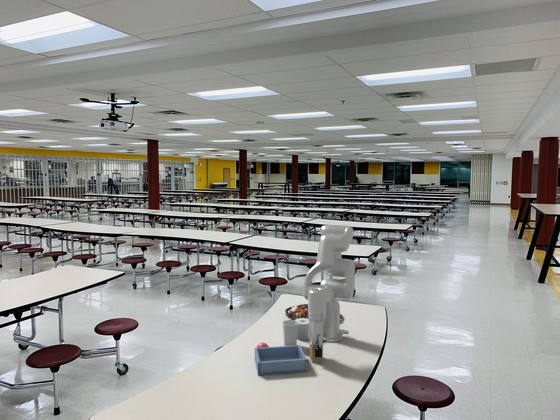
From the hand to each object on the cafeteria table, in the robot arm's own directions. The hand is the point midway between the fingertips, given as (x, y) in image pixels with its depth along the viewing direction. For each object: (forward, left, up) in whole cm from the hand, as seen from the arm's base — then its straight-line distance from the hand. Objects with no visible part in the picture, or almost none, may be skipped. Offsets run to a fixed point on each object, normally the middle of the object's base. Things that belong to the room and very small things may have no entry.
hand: (315, 352), depth 180 cm
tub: (+17, +2, -4) cm, 18 cm away
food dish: (-13, -58, -4) cm, 59 cm away
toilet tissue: (-1, -27, -4) cm, 27 cm away
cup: (+9, -18, -4) cm, 20 cm away
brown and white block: (0, -1, -4) cm, 4 cm away
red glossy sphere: (+24, -9, -4) cm, 26 cm away
